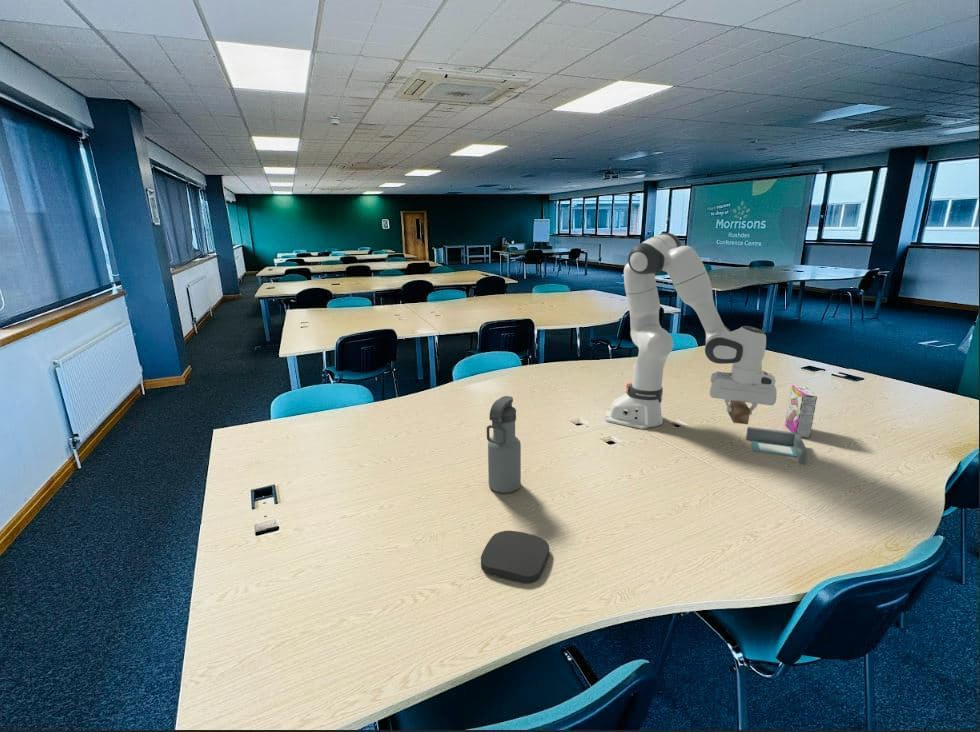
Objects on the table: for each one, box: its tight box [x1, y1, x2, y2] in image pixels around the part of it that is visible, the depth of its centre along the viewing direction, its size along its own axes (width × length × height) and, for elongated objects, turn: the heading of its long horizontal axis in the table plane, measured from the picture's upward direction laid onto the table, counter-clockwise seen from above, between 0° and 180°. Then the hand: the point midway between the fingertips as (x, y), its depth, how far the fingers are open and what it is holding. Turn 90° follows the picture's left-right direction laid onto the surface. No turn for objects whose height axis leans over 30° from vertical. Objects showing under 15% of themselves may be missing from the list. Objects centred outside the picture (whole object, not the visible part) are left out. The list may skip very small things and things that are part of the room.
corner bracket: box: [745, 426, 808, 465], centre depth 167 cm, size 16×15×4 cm
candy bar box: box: [784, 384, 818, 439], centre depth 179 cm, size 11×5×16 cm, turn 168°
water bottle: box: [486, 395, 522, 494], centre depth 144 cm, size 10×10×28 cm
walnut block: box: [727, 400, 751, 425], centre depth 168 cm, size 4×9×5 cm, turn 165°
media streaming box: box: [480, 530, 550, 584], centre depth 116 cm, size 15×15×3 cm
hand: (738, 412), depth 168 cm, fingers closed on walnut block, 5 cm apart
